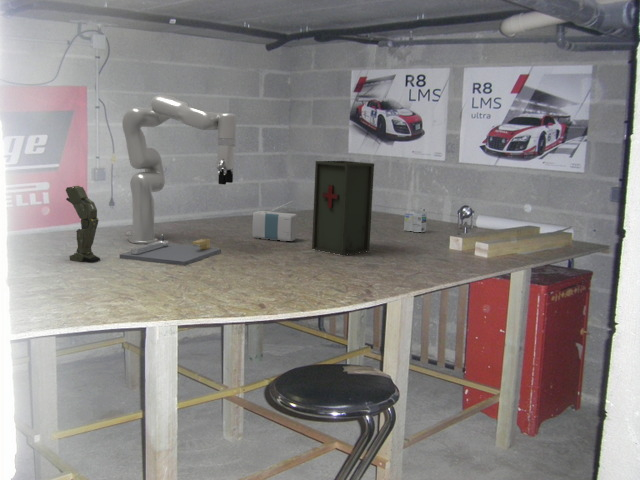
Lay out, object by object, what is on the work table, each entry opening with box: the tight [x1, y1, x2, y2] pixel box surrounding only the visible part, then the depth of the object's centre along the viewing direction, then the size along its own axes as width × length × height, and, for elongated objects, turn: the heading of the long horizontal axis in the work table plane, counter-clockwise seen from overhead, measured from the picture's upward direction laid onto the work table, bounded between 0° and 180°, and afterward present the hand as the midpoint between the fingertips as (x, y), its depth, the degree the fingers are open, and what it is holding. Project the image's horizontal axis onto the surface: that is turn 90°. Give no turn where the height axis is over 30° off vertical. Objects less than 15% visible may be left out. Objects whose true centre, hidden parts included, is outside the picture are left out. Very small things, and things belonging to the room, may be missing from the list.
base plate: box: [119, 242, 222, 266], centre depth 281 cm, size 29×32×2 cm
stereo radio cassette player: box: [251, 199, 298, 242], centre depth 328 cm, size 21×8×20 cm, turn 68°
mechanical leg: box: [65, 185, 101, 264], centre depth 261 cm, size 14×7×30 cm, turn 71°
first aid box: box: [311, 160, 375, 256], centre depth 304 cm, size 18×18×40 cm
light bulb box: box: [403, 211, 427, 232], centre depth 374 cm, size 11×7×11 cm, turn 58°
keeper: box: [192, 238, 211, 250], centre depth 286 cm, size 3×10×4 cm, turn 162°
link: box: [130, 233, 169, 254], centre depth 282 cm, size 24×5×5 cm, turn 162°
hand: (225, 183), depth 289 cm, fingers open, 9 cm apart
